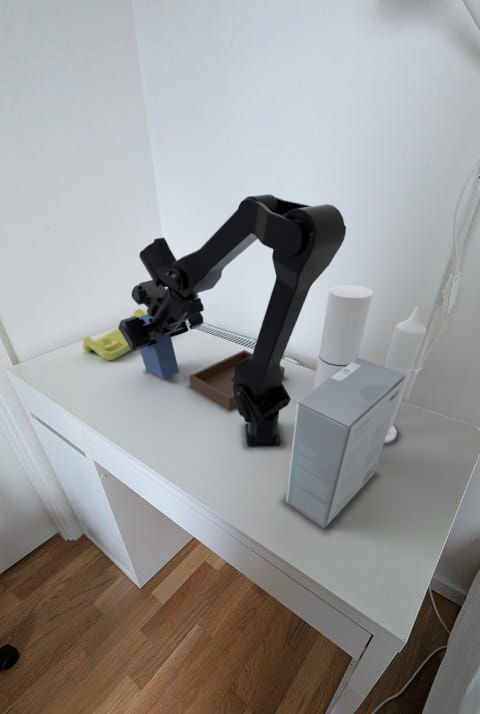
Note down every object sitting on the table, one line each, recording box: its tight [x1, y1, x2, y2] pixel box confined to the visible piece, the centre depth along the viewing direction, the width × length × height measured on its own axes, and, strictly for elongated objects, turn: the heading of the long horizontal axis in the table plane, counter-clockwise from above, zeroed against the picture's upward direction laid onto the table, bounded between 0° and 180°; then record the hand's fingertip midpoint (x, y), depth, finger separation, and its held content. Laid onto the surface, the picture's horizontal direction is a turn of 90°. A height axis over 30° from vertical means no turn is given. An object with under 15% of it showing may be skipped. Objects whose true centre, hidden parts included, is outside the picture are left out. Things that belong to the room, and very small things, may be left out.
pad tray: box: [188, 349, 286, 411], centre depth 81 cm, size 19×14×3 cm
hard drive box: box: [285, 357, 405, 529], centre depth 50 cm, size 16×8×20 cm, turn 136°
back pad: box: [139, 313, 180, 380], centre depth 81 cm, size 9×4×13 cm, turn 42°
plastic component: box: [82, 308, 148, 361], centre depth 97 cm, size 20×7×10 cm
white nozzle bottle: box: [383, 306, 427, 444], centre depth 60 cm, size 7×7×25 cm
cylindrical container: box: [313, 284, 373, 390], centre depth 65 cm, size 7×7×25 cm
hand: (152, 340), depth 80 cm, fingers closed on back pad, 5 cm apart
